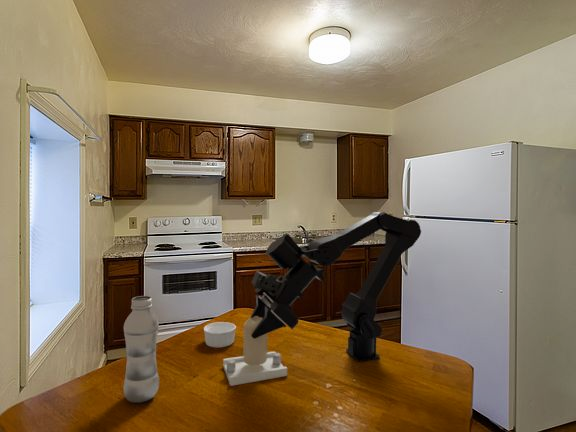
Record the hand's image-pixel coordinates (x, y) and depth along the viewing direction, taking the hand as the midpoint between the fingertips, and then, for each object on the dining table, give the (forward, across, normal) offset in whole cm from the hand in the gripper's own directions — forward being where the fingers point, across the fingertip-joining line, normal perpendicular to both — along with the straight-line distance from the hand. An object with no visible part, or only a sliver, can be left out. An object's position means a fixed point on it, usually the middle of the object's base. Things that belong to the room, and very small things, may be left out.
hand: (249, 332), depth 76 cm
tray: (+6, 0, +7) cm, 9 cm away
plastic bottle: (+23, +4, -10) cm, 25 cm away
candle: (+4, 0, +6) cm, 7 cm away
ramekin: (+10, -19, +4) cm, 22 cm away
